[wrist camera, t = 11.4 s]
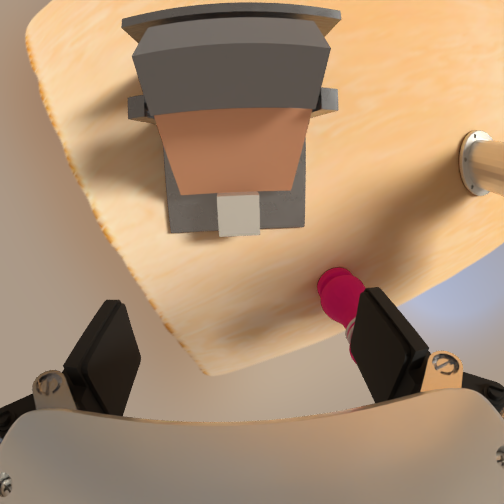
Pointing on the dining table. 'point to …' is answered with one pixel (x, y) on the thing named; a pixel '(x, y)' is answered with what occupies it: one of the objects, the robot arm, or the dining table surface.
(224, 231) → the light grey cube
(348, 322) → the pepper mill
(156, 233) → the dining table surface
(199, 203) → the frame
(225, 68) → the trapdoor
